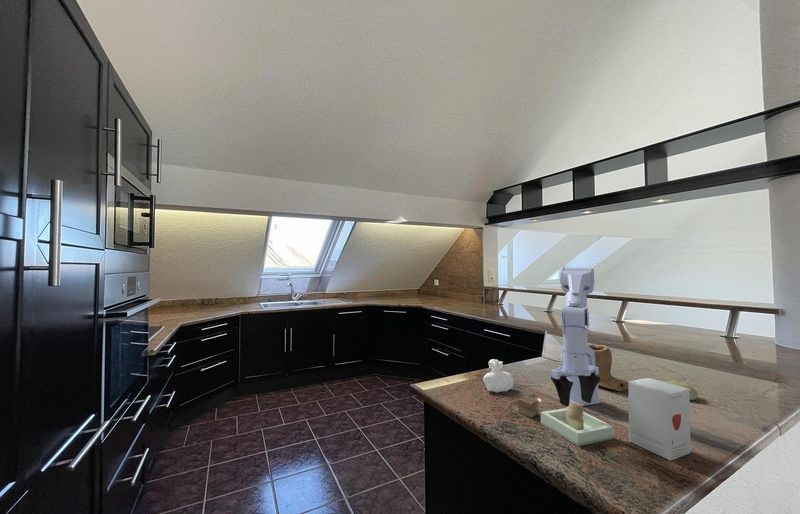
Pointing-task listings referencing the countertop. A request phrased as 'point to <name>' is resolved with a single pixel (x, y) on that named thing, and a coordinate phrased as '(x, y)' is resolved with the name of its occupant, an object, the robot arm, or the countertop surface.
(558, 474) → the countertop surface
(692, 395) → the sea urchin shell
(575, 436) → the tray
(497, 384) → the bust
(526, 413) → the walnut cube
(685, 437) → the supplement box
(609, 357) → the brown boot
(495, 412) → the countertop surface
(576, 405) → the beech cylinder
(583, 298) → the robot arm
